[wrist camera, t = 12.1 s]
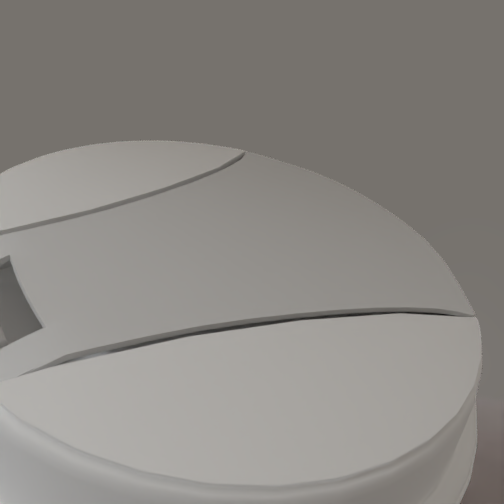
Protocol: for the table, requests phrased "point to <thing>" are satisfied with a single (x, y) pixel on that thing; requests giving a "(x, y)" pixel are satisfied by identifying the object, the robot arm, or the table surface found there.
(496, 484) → the table surface
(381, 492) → the paper cup
